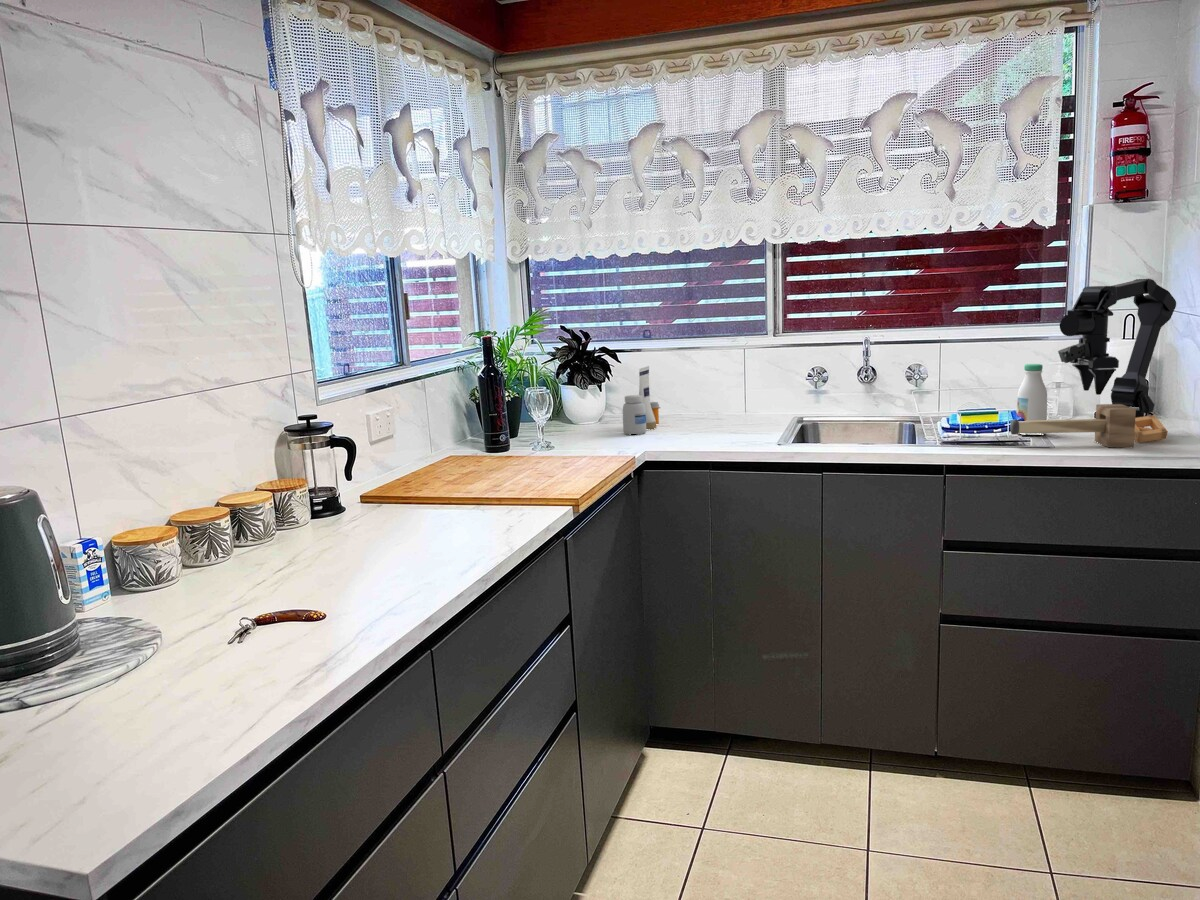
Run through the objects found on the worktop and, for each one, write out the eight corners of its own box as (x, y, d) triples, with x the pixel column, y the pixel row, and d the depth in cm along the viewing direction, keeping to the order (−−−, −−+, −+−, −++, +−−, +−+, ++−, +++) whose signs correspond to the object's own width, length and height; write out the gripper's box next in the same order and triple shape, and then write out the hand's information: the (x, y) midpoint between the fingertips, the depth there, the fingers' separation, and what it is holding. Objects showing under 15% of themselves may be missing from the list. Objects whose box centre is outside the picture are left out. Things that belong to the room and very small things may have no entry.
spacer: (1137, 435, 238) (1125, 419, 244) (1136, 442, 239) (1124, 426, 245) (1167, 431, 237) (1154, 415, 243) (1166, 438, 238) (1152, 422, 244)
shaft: (1010, 433, 244) (1010, 418, 244) (1103, 431, 240) (1104, 416, 240) (1014, 435, 241) (1014, 420, 240) (1108, 434, 236) (1109, 419, 236)
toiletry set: (642, 436, 288) (640, 371, 285) (620, 435, 291) (617, 371, 288) (665, 424, 311) (663, 364, 308) (645, 423, 314) (642, 364, 310)
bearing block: (1094, 441, 244) (1096, 404, 242) (1118, 441, 243) (1120, 404, 241) (1108, 448, 234) (1110, 409, 233) (1133, 447, 233) (1135, 409, 231)
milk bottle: (1045, 432, 261) (1048, 362, 257) (1046, 437, 254) (1049, 365, 250) (1016, 432, 264) (1018, 363, 260) (1015, 436, 257) (1018, 365, 254)
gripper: (1051, 333, 251) (1049, 389, 254) (1074, 337, 233) (1071, 397, 236) (1095, 331, 250) (1092, 388, 252) (1121, 335, 231) (1117, 396, 234)
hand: (1092, 392), depth 244 cm, fingers open, 9 cm apart
